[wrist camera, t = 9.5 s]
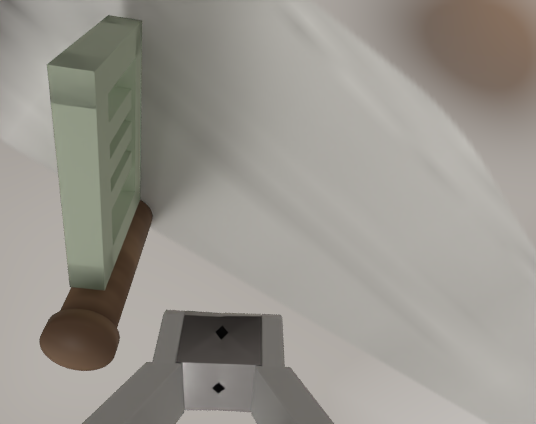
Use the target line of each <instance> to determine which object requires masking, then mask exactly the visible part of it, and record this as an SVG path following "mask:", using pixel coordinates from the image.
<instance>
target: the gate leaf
mask: <svg viewBox="0 0 536 424" xmlns="http://www.w3.org/2000/svg"><path fill="white" fill-rule="evenodd" d="M141 63H142V21H141V20H135V19H129V18H123V17H116V16H110V15H108V16H107V17H106V18H104V19H103V20H102V21H101V22H99V23H98V24H97V25H96V26H94V27H93V28H92V29H91V30H89V31H88V32H87V33H86V34H84V35H83V36H82V37H81V38H79V39H78V40H77V41H76V42H74V43H73V44H72V45H71V46H69V47H68V48H67V49H66V50H64V51H63V52H62V53H61V54H60V55H58V56H57V57H56V58H55V59H53V60H52V61H51V62H50V63H48V64H47V70H48V80H49V90H50V99H51V109H52V119H53V129H54V138H55V148H56V158H57V167H58V177H59V187H60V197H61V206H62V215H63V225H64V235H65V245H66V254H67V264H68V274H69V283H70V287H75V288H85V289H95V290H105V289H106V286H107V283H108V281H109V278H110V276H111V273H112V271H113V268H114V265H115V263H116V260H117V258H118V255H119V253H120V250H121V247H122V245H123V242H124V240H125V237H126V235H127V232H128V229H129V227H130V224H131V222H132V219H133V217H134V214H135V211H136V209H137V206H138V204H139V201H140V171H141Z"/></svg>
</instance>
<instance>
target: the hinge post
mask: <svg viewBox="0 0 536 424" xmlns="http://www.w3.org/2000/svg"><path fill="white" fill-rule="evenodd" d="M151 222H152V212H151V210H150V208H149V207H148V206H147V205H146V204H145V203H144V202H143V201H141V200H140V201H139V204H138V206H137V209H136V211H135V214H134V217H133V219H132V222H131V224H130V227H129V229H128V232H127V235H126V237H125V240H124V242H123V245H122V247H121V250H120V253H119V255H118V258H117V260H116V263H115V265H114V268H113V271H112V273H111V276H110V278H109V281H108V283H107V286H106V289H105V290H95V289H85V288H75V287H71V289H70V292H69V294H68V296H67V298H66V300H65V302H64V304H63V306H62V308H61V310H60V311H59V312H57V313H56V314H54V315H52V316H51V317H50V319H49V320H48V322H47V324H46V326H45V328H44V330H43V332H42V334H41V336H40V347H41V349H42V351H43V353H44V354H45V355H46V356H47V357H48V358H49V359H50V360H52V361H53V362H55V363H56V364H58V365H60V366H63V367H66V368H69V369H73V370H81V371H90V370H97V369H100V368H103V367H105V366H106V365H108V364H109V363H110V362H111V361H112V360H113V358H114V356H115V353H116V350H117V347H118V344H119V339H120V336H119V332H118V329H117V326H118V323H119V320H120V317H121V314H122V311H123V308H124V304H125V301H126V299H127V296H128V293H129V289H130V286H131V283H132V280H133V277H134V274H135V271H136V268H137V265H138V262H139V259H140V256H141V253H142V250H143V247H144V243H145V241H146V238H147V235H148V231H149V228H150V225H151Z"/></svg>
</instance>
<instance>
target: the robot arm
mask: <svg viewBox="0 0 536 424" xmlns="http://www.w3.org/2000/svg"><path fill="white" fill-rule="evenodd" d="M283 347H284V345H283V325H282V317H281V315H271V314H262V315H261V314H245V313H212V312H196V311H176V310H166V311H165V313H164V315H163V319H162V323H161V328H160V332H159V336H158V340H157V344H156V349H155V354H154V357H153V362H146V363H145V364H144V365H143V366H142V367H141V368H140V369H139V370H138V371H137V372H136V373H135V374H134V375H133V376H132V377H130V378H129V379H128V380H127V381H126V382H125V383H124V384H123V385H122V386H121V387H120V388H119V389H118V390H117V391H116V392H115V393H114V394H113V395H112V396H111V397H110V398H108V400H106V401H105V402H104V403H103V404H102V405H101V406H100V407H99V408H98V409H97V410H96V411H95V412H94V413H93V414H92V415H91V416H90V417H89V418H87V419H86V420H85V421H84V422H83V423H82V424H176V422H177V421H178V420H179V418H180V417H181V416H182V414H183V413H184V410H223V411H240V412H252V416H253V417H254V419H255V421H256V423H257V424H334V423H333V422H332V420H331V419H330V418H329V416H328V415H327V414H326V413H325V411H324V410H323V409H322V407H321V406H320V405H319V404H318V402H317V401H316V400H315V399H314V397H313V396H312V395H311V393H310V392H309V391H308V389H307V388H306V387H305V386H304V385H303V383H302V382H301V380H300V379H299V378H298V377H297V375H296V374H295V373H294V372H293V370H292V369H291V368H290V367H285V365H284V348H283Z"/></svg>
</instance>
